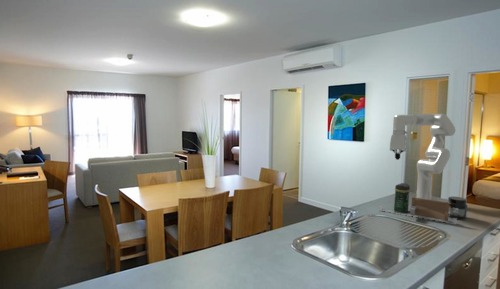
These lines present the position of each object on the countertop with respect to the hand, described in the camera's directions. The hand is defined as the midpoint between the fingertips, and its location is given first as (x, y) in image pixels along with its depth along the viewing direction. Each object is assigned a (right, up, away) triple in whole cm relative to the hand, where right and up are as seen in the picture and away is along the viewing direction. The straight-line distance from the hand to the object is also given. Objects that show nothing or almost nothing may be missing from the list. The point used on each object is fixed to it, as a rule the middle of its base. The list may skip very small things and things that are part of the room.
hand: (397, 159), depth 213 cm
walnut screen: (+5, -35, -28) cm, 45 cm away
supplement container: (+27, -36, -20) cm, 49 cm away
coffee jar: (-2, -34, -9) cm, 35 cm away
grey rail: (+2, -35, -20) cm, 41 cm away
